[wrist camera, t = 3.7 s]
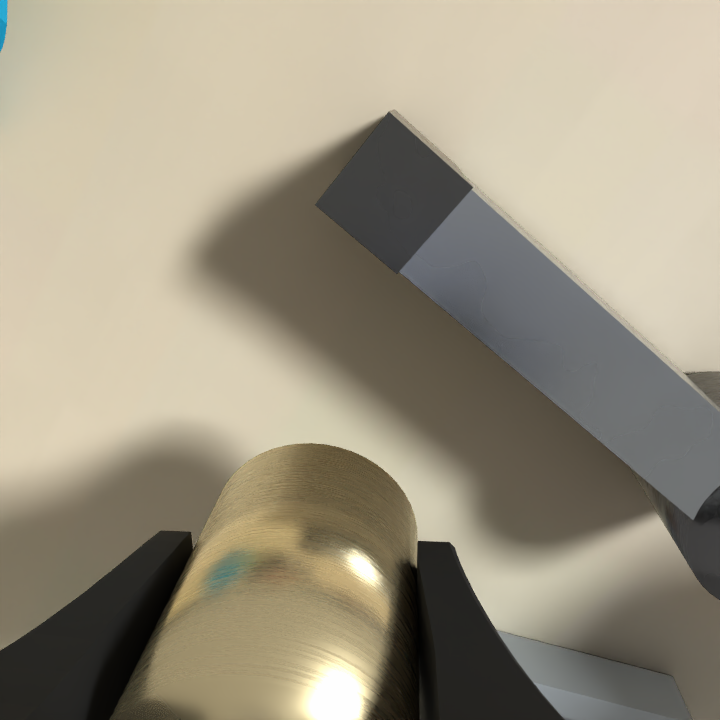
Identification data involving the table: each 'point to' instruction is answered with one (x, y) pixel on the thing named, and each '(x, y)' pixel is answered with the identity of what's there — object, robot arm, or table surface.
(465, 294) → the crank
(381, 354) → the table surface
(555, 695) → the tray
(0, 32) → the gear
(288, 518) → the cylinder
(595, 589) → the table surface
